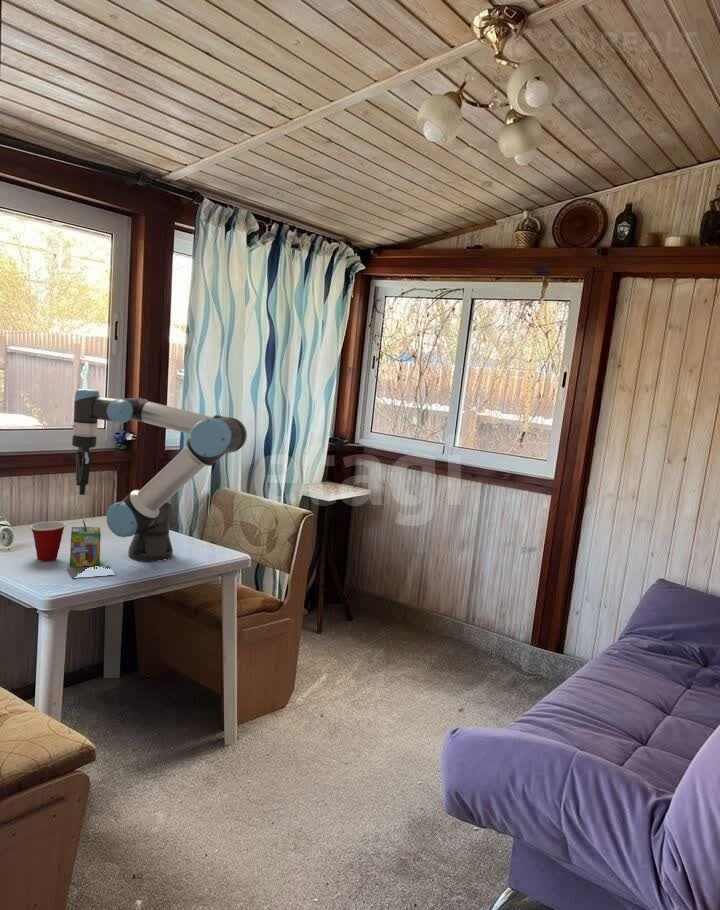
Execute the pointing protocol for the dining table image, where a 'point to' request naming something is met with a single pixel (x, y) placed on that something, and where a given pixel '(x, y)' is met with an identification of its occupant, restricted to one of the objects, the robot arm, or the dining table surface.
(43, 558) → the plastic cup
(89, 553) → the chalk box
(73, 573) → the mat
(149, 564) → the dining table surface
